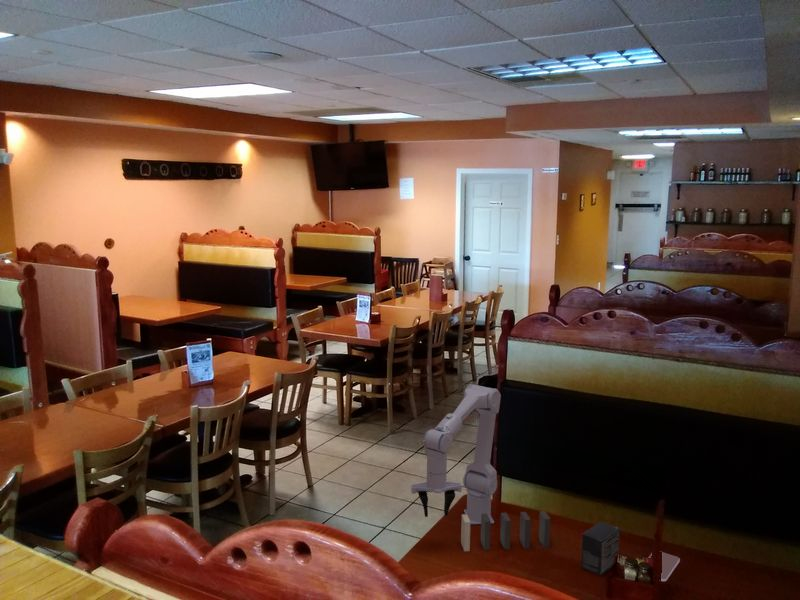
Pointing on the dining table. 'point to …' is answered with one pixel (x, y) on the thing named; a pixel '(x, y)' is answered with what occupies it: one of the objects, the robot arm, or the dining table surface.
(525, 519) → the grey domino
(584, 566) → the small box
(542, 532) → the grey domino
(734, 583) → the dining table surface
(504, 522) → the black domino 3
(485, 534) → the grey domino
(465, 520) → the ivory domino
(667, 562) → the mobile phone
